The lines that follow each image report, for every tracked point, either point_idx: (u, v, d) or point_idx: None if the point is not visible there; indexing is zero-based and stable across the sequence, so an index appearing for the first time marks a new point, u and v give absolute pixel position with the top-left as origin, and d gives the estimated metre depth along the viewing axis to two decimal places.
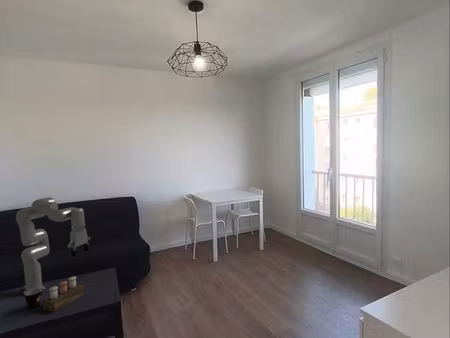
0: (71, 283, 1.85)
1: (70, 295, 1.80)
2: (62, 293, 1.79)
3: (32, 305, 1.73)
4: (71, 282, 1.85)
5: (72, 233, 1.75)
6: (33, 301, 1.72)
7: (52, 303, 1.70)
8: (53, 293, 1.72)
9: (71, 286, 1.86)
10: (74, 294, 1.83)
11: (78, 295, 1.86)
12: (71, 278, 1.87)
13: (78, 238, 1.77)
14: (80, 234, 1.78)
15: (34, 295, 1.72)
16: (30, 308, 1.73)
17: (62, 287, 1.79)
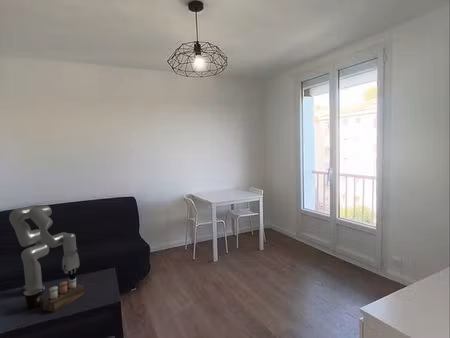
0: (71, 284, 1.85)
1: (70, 295, 1.80)
2: (62, 293, 1.79)
3: (32, 305, 1.73)
4: (71, 283, 1.85)
5: (64, 258, 1.82)
6: (33, 301, 1.72)
7: (52, 303, 1.70)
8: (53, 293, 1.72)
9: (71, 287, 1.86)
10: (74, 294, 1.83)
11: (78, 295, 1.86)
12: None
13: (70, 263, 1.83)
14: (72, 259, 1.84)
15: (34, 295, 1.72)
16: (30, 308, 1.73)
17: (62, 287, 1.79)
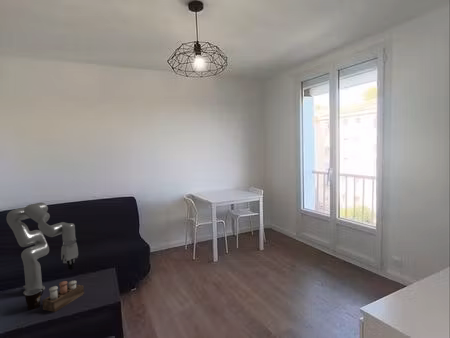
0: (71, 287, 1.86)
1: (70, 295, 1.80)
2: (62, 293, 1.79)
3: (32, 305, 1.73)
4: (71, 286, 1.86)
5: (63, 248, 1.81)
6: (33, 301, 1.72)
7: (52, 303, 1.70)
8: (53, 293, 1.72)
9: None
10: (74, 294, 1.83)
11: (78, 295, 1.86)
12: (71, 282, 1.87)
13: (69, 253, 1.83)
14: (71, 249, 1.84)
15: (34, 295, 1.72)
16: (30, 308, 1.73)
17: (62, 287, 1.79)
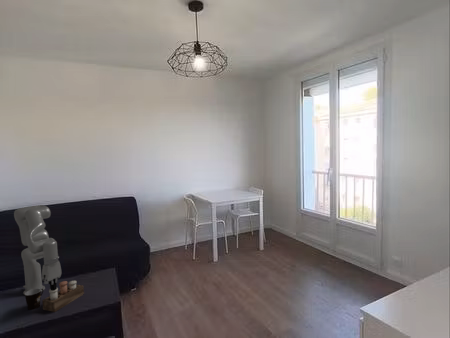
0: (71, 287, 1.86)
1: (70, 295, 1.80)
2: (62, 293, 1.79)
3: (32, 305, 1.73)
4: (71, 286, 1.86)
5: (44, 267, 1.69)
6: (33, 301, 1.72)
7: (52, 303, 1.70)
8: (53, 295, 1.72)
9: None
10: (74, 294, 1.83)
11: (78, 295, 1.86)
12: (71, 282, 1.87)
13: (50, 272, 1.70)
14: (53, 268, 1.71)
15: (34, 295, 1.72)
16: (30, 308, 1.73)
17: (62, 287, 1.79)
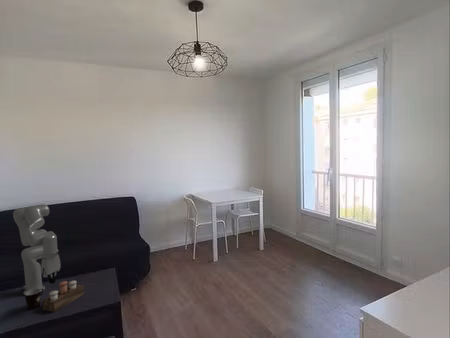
0: (71, 287, 1.86)
1: (70, 295, 1.80)
2: (62, 293, 1.79)
3: (32, 305, 1.73)
4: (71, 286, 1.86)
5: (43, 261, 1.69)
6: (33, 301, 1.72)
7: (52, 303, 1.70)
8: (53, 297, 1.73)
9: None
10: (74, 294, 1.83)
11: (78, 295, 1.86)
12: (71, 282, 1.87)
13: (50, 266, 1.70)
14: (52, 262, 1.71)
15: (34, 295, 1.72)
16: (30, 308, 1.73)
17: (62, 287, 1.79)
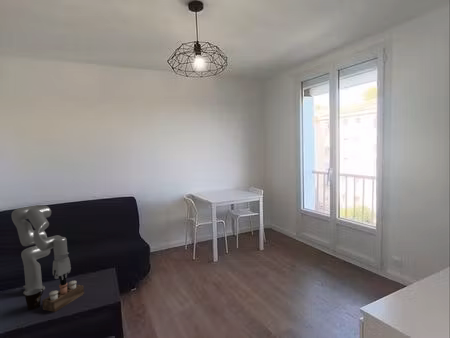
0: (71, 287, 1.86)
1: (70, 295, 1.80)
2: None
3: (32, 305, 1.73)
4: (71, 286, 1.86)
5: (54, 263, 1.75)
6: (33, 301, 1.72)
7: (52, 303, 1.70)
8: (53, 297, 1.73)
9: None
10: (74, 294, 1.83)
11: (78, 295, 1.86)
12: (71, 282, 1.87)
13: (60, 268, 1.77)
14: (63, 263, 1.78)
15: (34, 295, 1.72)
16: (30, 308, 1.73)
17: (62, 289, 1.79)
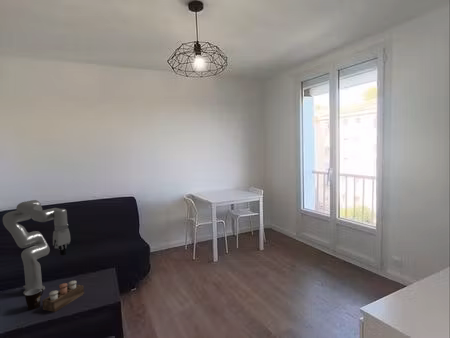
0: (71, 287, 1.86)
1: (70, 295, 1.80)
2: None
3: (32, 305, 1.73)
4: (71, 286, 1.86)
5: (55, 233, 1.80)
6: (33, 301, 1.72)
7: (52, 303, 1.70)
8: (53, 297, 1.73)
9: None
10: (74, 294, 1.83)
11: (78, 295, 1.86)
12: (71, 282, 1.87)
13: (60, 238, 1.81)
14: (63, 234, 1.83)
15: (34, 295, 1.72)
16: (30, 308, 1.73)
17: (62, 289, 1.79)
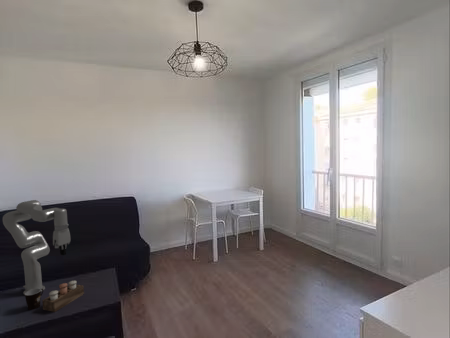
0: (71, 287, 1.86)
1: (70, 295, 1.80)
2: None
3: (32, 305, 1.73)
4: (71, 286, 1.86)
5: (55, 233, 1.80)
6: (33, 301, 1.72)
7: (52, 303, 1.70)
8: (53, 297, 1.73)
9: None
10: (74, 294, 1.83)
11: (78, 295, 1.86)
12: (71, 282, 1.87)
13: (61, 238, 1.82)
14: (63, 234, 1.83)
15: (34, 295, 1.72)
16: (30, 308, 1.73)
17: (62, 289, 1.79)
